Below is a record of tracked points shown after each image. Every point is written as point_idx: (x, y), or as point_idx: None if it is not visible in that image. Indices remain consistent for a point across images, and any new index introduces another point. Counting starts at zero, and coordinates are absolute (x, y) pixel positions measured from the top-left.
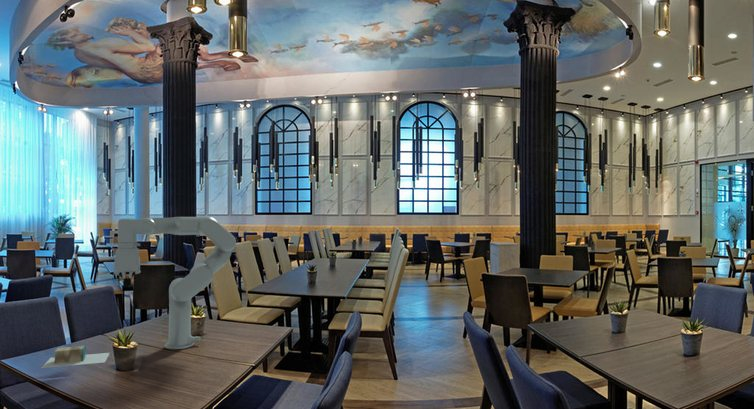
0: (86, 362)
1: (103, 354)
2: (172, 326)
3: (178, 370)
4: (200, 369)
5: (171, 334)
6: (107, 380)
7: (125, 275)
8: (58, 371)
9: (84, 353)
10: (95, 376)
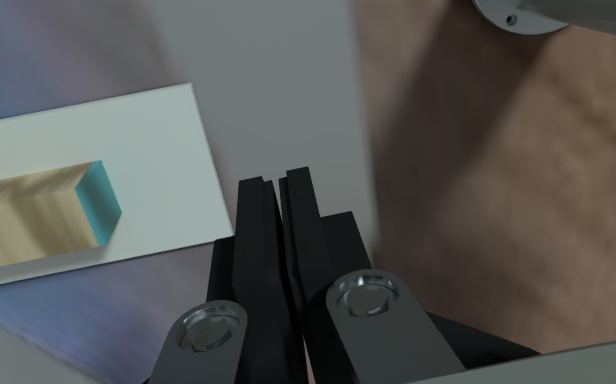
0: (149, 232)
1: (169, 114)
2: (578, 21)
3: (524, 310)
4: (595, 307)
5: (539, 8)
6: (309, 377)
7: (239, 377)
8: (77, 290)
9: (104, 199)
10: None
